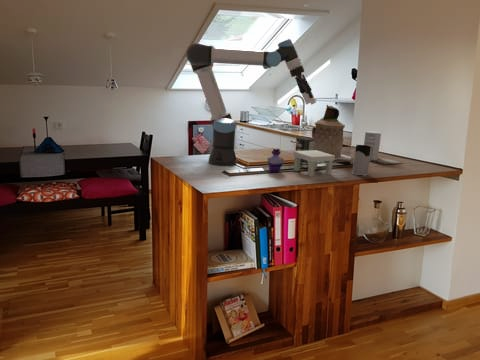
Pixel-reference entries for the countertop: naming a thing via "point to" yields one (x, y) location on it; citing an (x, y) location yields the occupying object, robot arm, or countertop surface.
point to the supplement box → (373, 142)
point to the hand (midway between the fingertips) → (311, 103)
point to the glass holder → (362, 159)
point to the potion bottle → (275, 161)
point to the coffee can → (304, 146)
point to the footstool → (313, 160)
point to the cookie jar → (329, 134)
